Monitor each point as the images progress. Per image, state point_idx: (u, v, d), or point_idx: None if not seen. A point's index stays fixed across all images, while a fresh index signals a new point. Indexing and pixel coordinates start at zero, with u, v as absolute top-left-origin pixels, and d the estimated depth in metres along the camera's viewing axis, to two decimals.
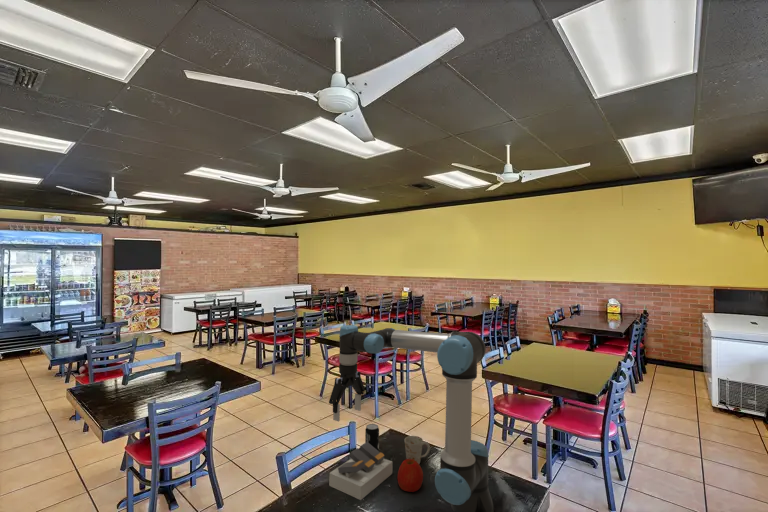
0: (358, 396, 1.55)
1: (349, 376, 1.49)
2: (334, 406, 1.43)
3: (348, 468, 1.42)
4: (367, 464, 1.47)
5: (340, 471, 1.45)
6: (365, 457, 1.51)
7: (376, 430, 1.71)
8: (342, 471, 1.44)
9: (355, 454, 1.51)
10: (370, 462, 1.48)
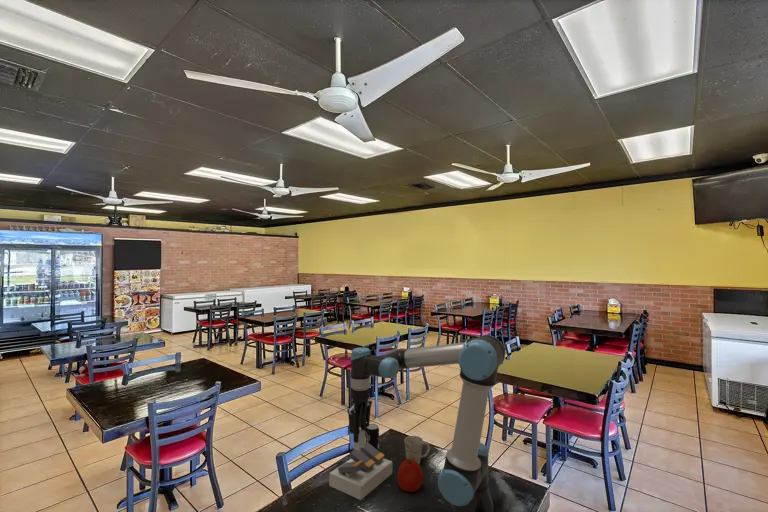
0: (362, 432, 1.43)
1: (361, 402, 1.42)
2: (355, 435, 1.40)
3: (348, 468, 1.42)
4: (367, 464, 1.47)
5: (340, 471, 1.45)
6: (365, 457, 1.51)
7: (376, 430, 1.71)
8: (342, 471, 1.44)
9: (355, 454, 1.51)
10: (370, 462, 1.48)
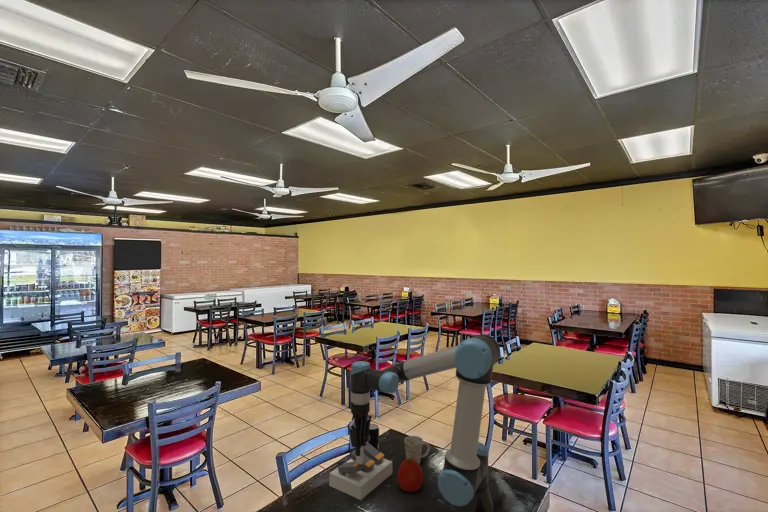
0: None
1: (361, 416, 1.42)
2: (357, 449, 1.41)
3: (348, 468, 1.42)
4: (367, 464, 1.47)
5: (340, 471, 1.45)
6: (365, 457, 1.51)
7: (376, 430, 1.71)
8: (342, 471, 1.44)
9: (355, 454, 1.51)
10: (370, 462, 1.48)
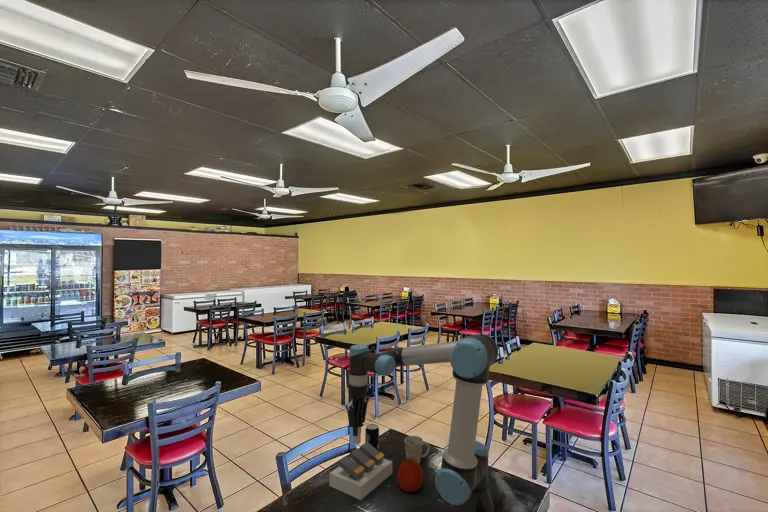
0: None
1: (359, 397, 1.46)
2: (354, 429, 1.45)
3: (349, 469, 1.42)
4: (367, 464, 1.47)
5: (339, 465, 1.45)
6: (365, 457, 1.51)
7: (376, 430, 1.71)
8: (341, 466, 1.44)
9: (355, 454, 1.51)
10: (370, 462, 1.48)
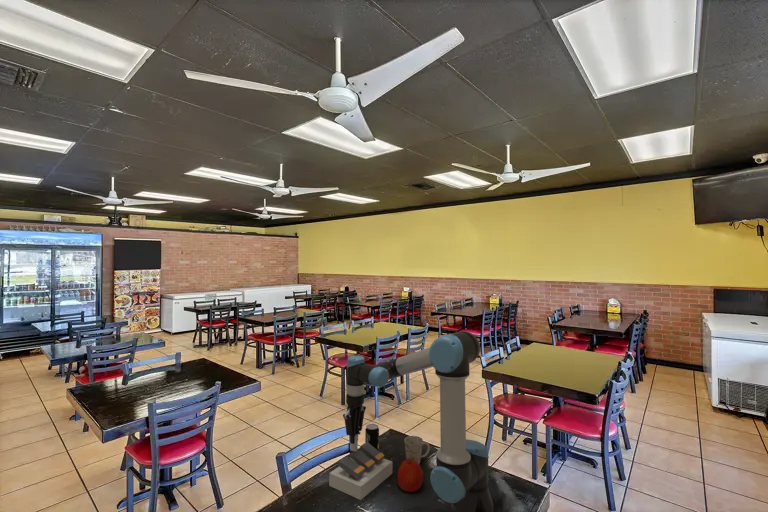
0: None
1: (356, 406, 1.52)
2: (351, 437, 1.51)
3: (349, 469, 1.42)
4: (367, 464, 1.47)
5: (339, 465, 1.45)
6: (365, 457, 1.51)
7: (376, 430, 1.71)
8: (341, 466, 1.44)
9: (355, 454, 1.51)
10: (370, 462, 1.48)
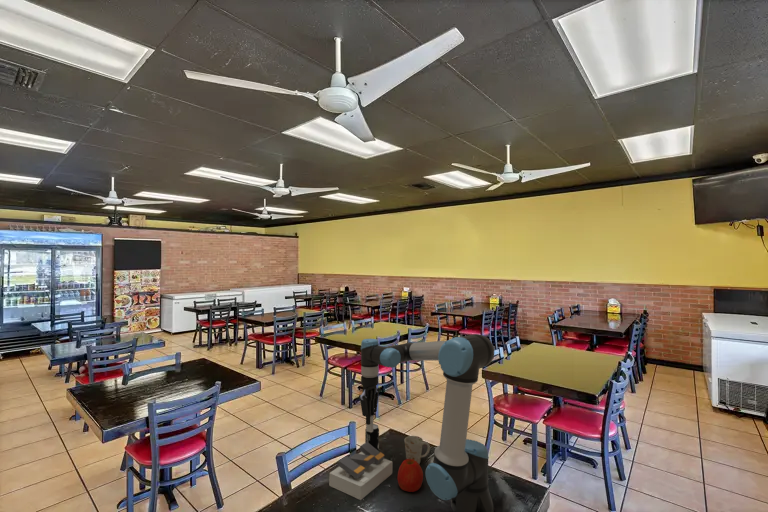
0: None
1: (371, 388, 1.55)
2: (367, 418, 1.54)
3: (349, 469, 1.42)
4: (366, 459, 1.47)
5: (339, 465, 1.45)
6: (364, 456, 1.51)
7: (376, 430, 1.71)
8: (341, 466, 1.44)
9: (354, 457, 1.51)
10: (369, 457, 1.49)
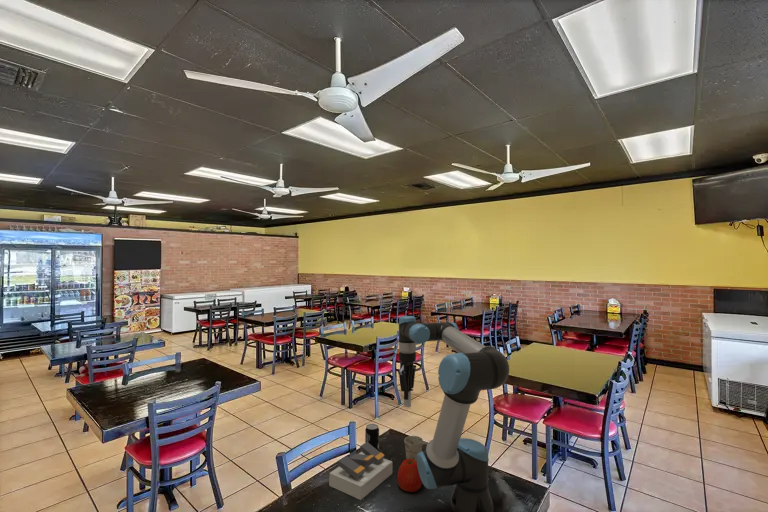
0: None
1: (409, 364, 1.58)
2: (405, 393, 1.57)
3: (349, 469, 1.42)
4: (366, 459, 1.47)
5: (339, 465, 1.45)
6: (364, 456, 1.51)
7: (376, 430, 1.71)
8: (341, 466, 1.44)
9: (354, 457, 1.51)
10: (369, 457, 1.49)
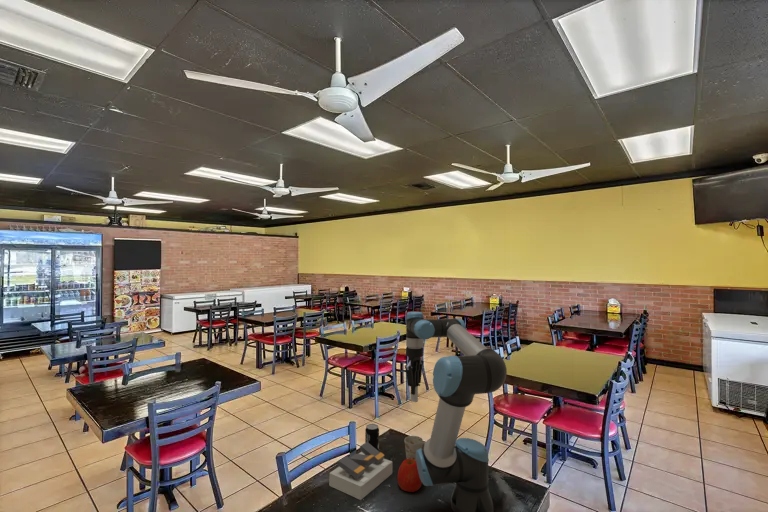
0: None
1: (416, 359, 1.59)
2: (412, 388, 1.58)
3: (349, 469, 1.42)
4: (366, 459, 1.47)
5: (339, 465, 1.45)
6: (364, 456, 1.51)
7: (376, 430, 1.71)
8: (341, 466, 1.44)
9: (354, 457, 1.51)
10: (369, 457, 1.49)
